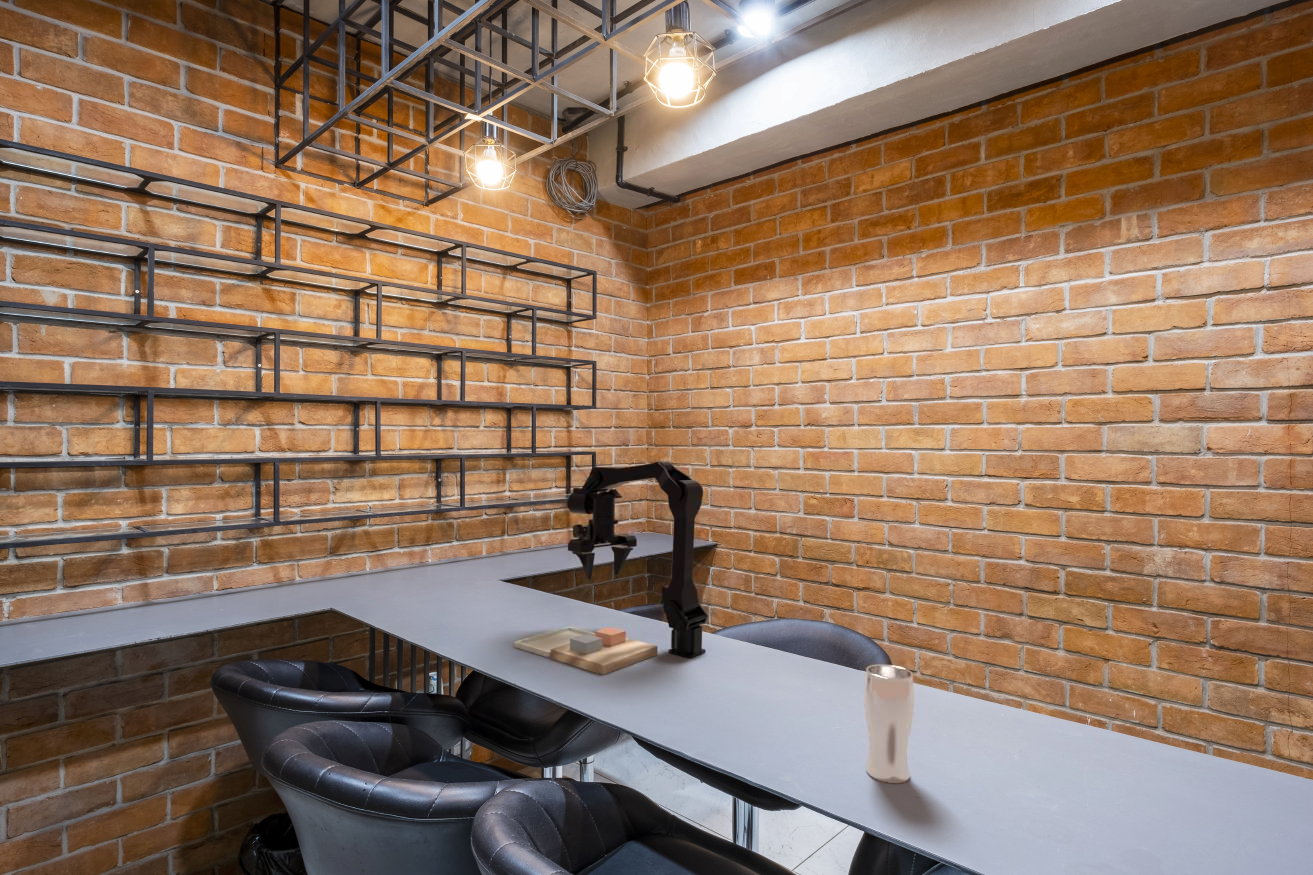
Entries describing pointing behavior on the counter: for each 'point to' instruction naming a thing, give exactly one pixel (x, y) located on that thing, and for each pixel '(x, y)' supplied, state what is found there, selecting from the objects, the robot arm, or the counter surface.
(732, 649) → the counter surface
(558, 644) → the tray
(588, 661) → the birch board
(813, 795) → the counter surface
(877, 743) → the beer glass
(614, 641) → the terracotta block
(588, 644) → the grey box
